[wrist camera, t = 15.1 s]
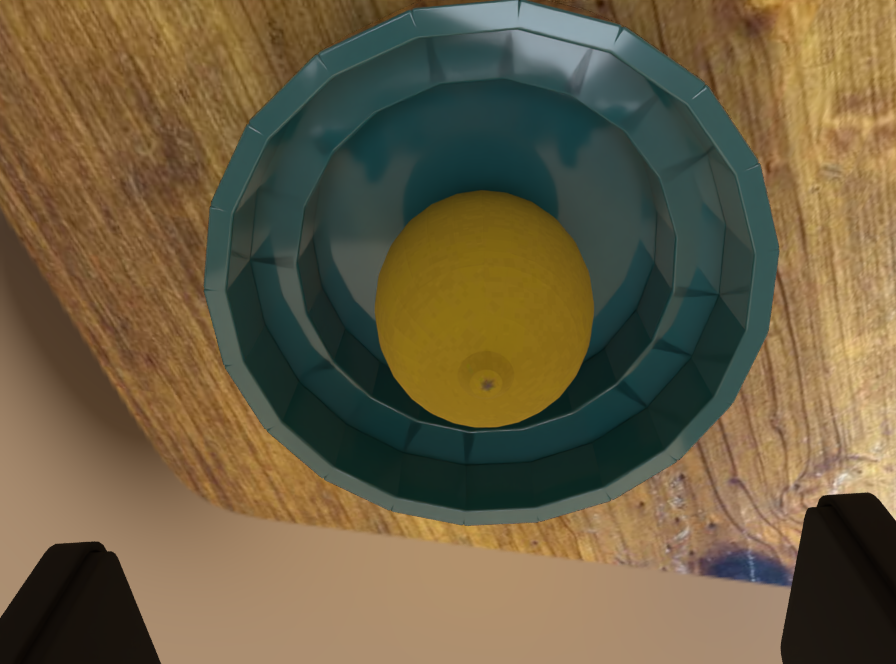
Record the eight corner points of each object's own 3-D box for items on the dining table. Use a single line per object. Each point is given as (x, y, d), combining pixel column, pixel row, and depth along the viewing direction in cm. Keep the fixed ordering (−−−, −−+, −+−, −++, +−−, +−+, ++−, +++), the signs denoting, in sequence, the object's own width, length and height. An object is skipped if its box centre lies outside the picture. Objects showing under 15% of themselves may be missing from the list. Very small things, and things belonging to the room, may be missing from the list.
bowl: (302, 438, 26) (268, 535, 22) (209, 17, 20) (134, 34, 15) (696, 416, 25) (744, 513, 21) (736, -33, 19) (818, -31, 14)
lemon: (486, 358, 24) (493, 528, 17) (355, 254, 22) (300, 392, 15) (610, 241, 22) (677, 377, 15) (475, 117, 20) (477, 202, 13)
